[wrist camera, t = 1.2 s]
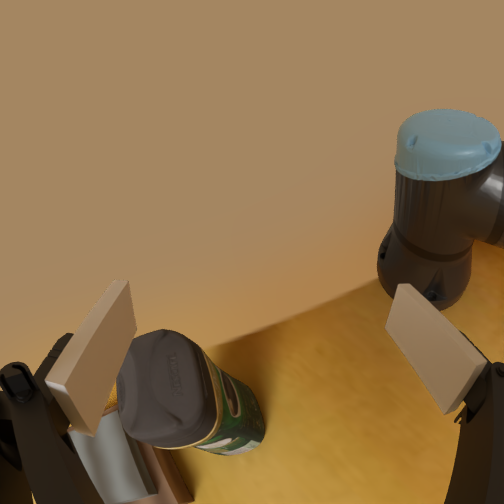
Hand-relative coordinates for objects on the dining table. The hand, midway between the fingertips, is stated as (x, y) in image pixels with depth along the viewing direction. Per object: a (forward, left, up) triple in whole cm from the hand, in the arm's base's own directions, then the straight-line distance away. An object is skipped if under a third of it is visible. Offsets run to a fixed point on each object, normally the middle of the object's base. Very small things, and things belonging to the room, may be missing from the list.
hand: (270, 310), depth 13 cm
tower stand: (+28, -4, -23) cm, 36 cm away
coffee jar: (+10, -4, -23) cm, 26 cm away
